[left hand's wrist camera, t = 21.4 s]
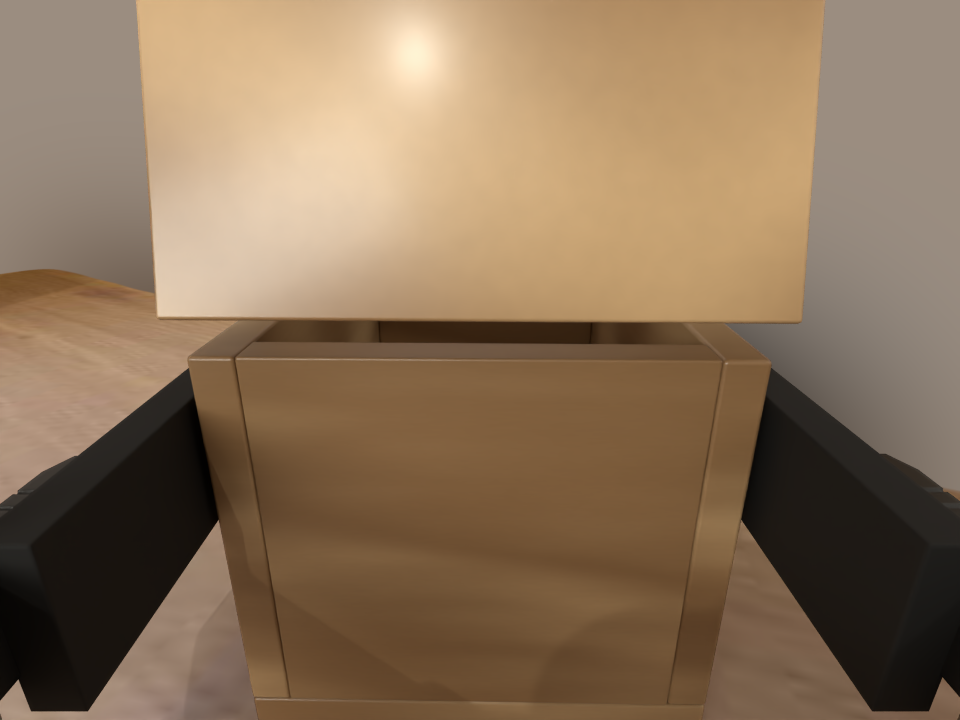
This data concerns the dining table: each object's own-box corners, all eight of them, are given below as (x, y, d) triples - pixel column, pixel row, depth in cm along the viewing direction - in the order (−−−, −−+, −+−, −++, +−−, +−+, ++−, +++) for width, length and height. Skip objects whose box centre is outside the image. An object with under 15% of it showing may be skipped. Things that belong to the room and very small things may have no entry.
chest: (371, 441, 25) (355, 235, 22) (599, 443, 25) (616, 236, 22) (257, 725, 13) (184, 357, 10) (700, 733, 13) (774, 361, 10)
